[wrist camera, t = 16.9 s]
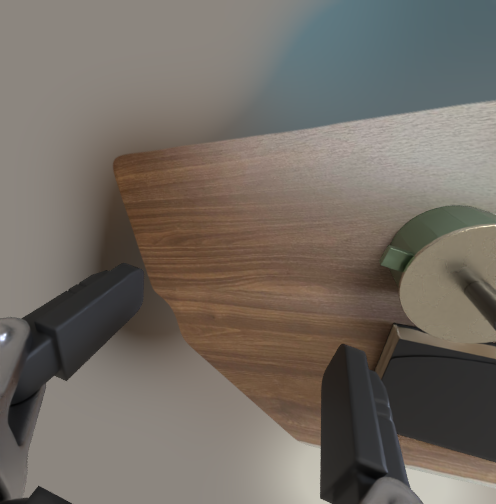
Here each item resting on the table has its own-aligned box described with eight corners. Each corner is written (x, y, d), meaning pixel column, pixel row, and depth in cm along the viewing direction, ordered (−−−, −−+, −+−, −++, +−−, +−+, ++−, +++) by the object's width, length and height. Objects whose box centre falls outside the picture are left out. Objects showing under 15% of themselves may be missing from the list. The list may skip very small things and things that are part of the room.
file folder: (699, 402, 30) (572, 491, 41) (659, 373, 34) (553, 462, 45) (400, 339, 38) (360, 429, 49) (393, 321, 41) (358, 409, 52)
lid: (442, 203, 25) (477, 224, 20) (607, 248, 23) (700, 287, 18) (375, 310, 33) (386, 350, 27) (497, 352, 31) (538, 405, 25)
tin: (397, 186, 33) (419, 202, 25) (560, 230, 30) (636, 263, 23) (353, 272, 39) (360, 304, 32) (483, 314, 37) (523, 360, 29)
